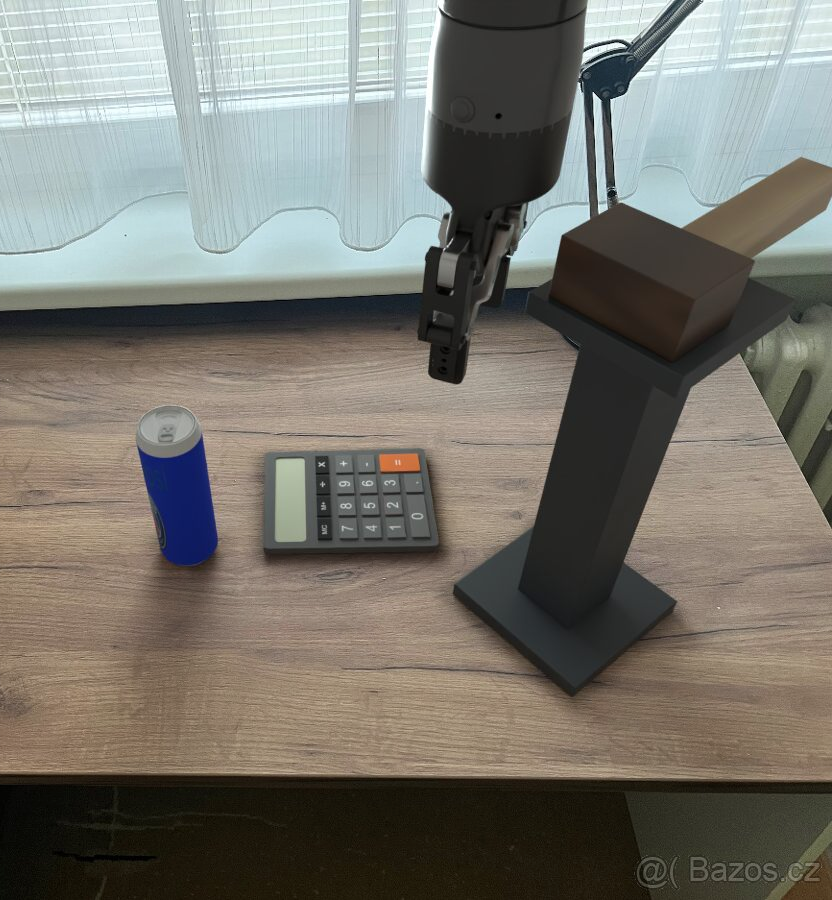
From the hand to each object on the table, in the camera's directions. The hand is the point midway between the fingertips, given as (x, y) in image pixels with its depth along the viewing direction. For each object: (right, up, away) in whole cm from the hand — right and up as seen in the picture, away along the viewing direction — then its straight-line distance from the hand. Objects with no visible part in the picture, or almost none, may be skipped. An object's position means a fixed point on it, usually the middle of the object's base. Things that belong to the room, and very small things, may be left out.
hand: (466, 339), depth 57 cm
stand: (+11, -20, +13) cm, 26 cm away
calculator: (-5, -12, +22) cm, 26 cm away
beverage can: (-19, -16, +20) cm, 32 cm away
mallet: (+13, +4, -6) cm, 15 cm away
